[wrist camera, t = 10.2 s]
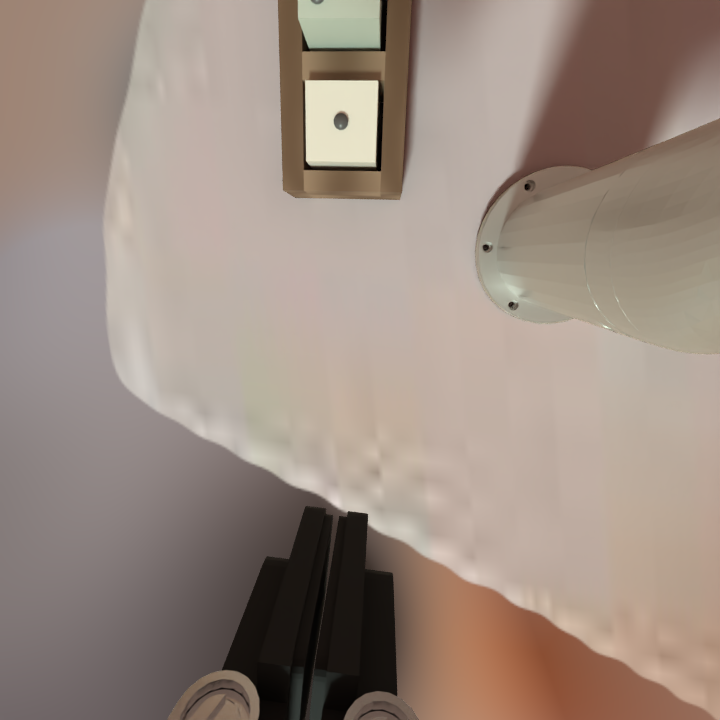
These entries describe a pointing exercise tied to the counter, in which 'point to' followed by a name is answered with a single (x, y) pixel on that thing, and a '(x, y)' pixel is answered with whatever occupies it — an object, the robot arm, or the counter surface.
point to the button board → (346, 67)
